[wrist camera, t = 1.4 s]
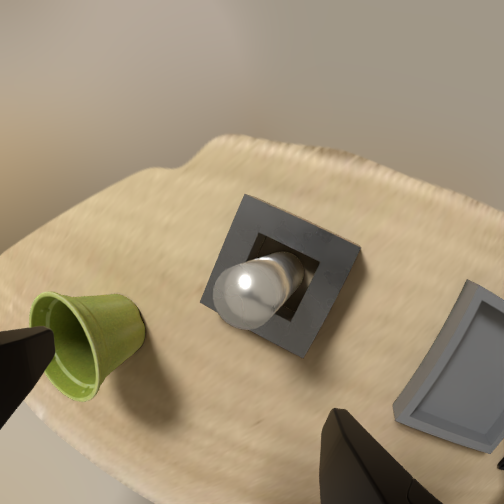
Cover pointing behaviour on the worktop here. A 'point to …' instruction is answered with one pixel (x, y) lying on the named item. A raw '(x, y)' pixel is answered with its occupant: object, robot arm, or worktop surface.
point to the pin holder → (303, 240)
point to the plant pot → (87, 338)
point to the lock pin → (256, 289)
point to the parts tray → (461, 376)
